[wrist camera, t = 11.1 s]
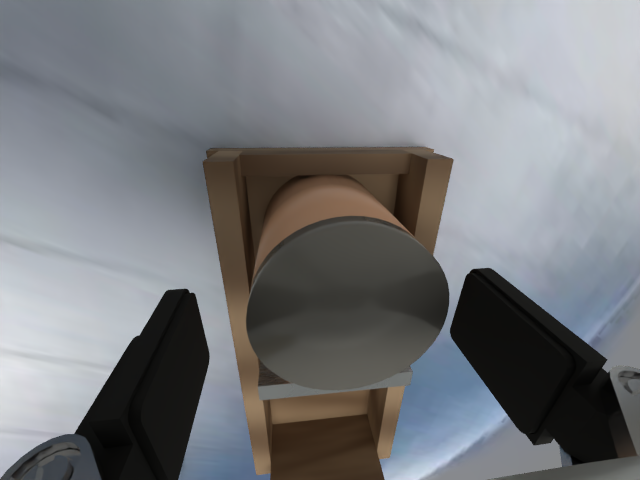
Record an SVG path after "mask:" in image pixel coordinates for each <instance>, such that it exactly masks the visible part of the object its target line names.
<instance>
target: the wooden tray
mask: <svg viewBox="0 0 640 480" xmlns="http://www.w3.org/2000/svg"><path fill="white" fill-rule="evenodd" d="M433 152H434V149H430V148H427V147H354V148H211V149H209V150H207V151H206V153H207V159H206V160H204V161H203V167H204V173H205V179H206V185H207V190H208V196H209V202H210V208H211V214H212V219H213V225H214V231H215V237H216V243H217V248H218V254H219V260H220V266H221V272H222V278H223V283H224V289H225V295H226V301H227V307H228V312H229V318H230V324H231V330H232V336H233V341H234V347H235V353H236V359H237V365H238V370H239V376H240V382H241V388H242V394H243V399H244V405H245V411H246V417H247V423H248V428H249V434H250V440H251V446H252V452H253V457H254V463H255V469H256V475H260V474H267V473H271V476H270V480H384V476H383V472H382V468H381V465H380V461H379V459H384V458H390V454H391V449H392V444H393V440H394V435H395V430H396V426H397V421H398V416H399V412H400V407H401V402H402V398H403V393H404V388H405V386H398V387H388V388H378V389H368V390H358V391H348V392H338V393H328V394H318V395H309V396H299V397H289V398H279V399H269V400H259V393H258V378H259V368H260V360H259V358H258V357H257V355H256V354H255V352H254V351H253V349H252V346H251V344H250V342H249V339H248V334H247V330H246V314H247V306H248V301H249V296H250V290H251V285H252V280H253V274H254V269H255V264H256V258H257V253H258V248H259V242H260V237H261V232H262V226H263V221H264V216H265V212H266V209H267V206H268V204H269V202H270V200H271V198H272V197H273V195H274V194H275V193H276V191H277V190H278V189H279V188H280V187H281V186H282V185H283V184H284V183H286V182H287V181H289V180H290V179H292V178H293V177H295V176H297V175H349V176H351V177H353V178H355V179H356V180H358V181H359V182H360V183H361V184H362V185H363V186H364V187H365V188H366V189H367V190H368V191H369V192H370V193H371V194H372V195H373V196H374V197H375V198H376V199H377V200H378V201H379V202H380V203H381V204H382V205H383V206H384V207H385V208H386V209H387V210H388V211H389V212H390V213H391V214H392V215H393V216H394V217H395V218H396V219H397V220H398V221H399V222H400V223H401V224H402V225H403V226H404V227H405V228H406V229H407V230H408V231H409V232H410V233H411V234H412V235H413V236H414V237H415V238H416V239H417V240H418V241H419V242H420V243H421V244H422V245H423V246H424V247H425V248H426V249H427V250H428V251H429V252H430V253H431V254H432V255H433V253H434V248H435V243H436V239H437V234H438V229H439V225H440V220H441V215H442V210H443V206H444V201H445V196H446V192H447V187H448V182H449V178H450V173H451V168H452V164H453V159H452V158H449V157H445V156H442V155H439V154H436V153H433Z"/></svg>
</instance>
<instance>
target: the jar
mask: <svg viewBox="0 0 640 480" xmlns="http://www.w3.org/2000/svg"><path fill="white" fill-rule="evenodd" d="M448 307H449V289H448V283H447V280H446V277H445V274H444V272H443V270H442V268H441V266H440V264H439V263H438V262H437V261H436V259H435V258H434V257H433V255H432V254H431V253H430V252H429V251H428V250H427V249H426V248H425V247H424V246H423V245H422V244H421V243H420V242H419V241H418V240H417V239H416V238H415V237H414V236H413V235H412V234H411V233H410V232H409V231H408V230H407V229H406V228H405V227H404V226H403V225H402V224H401V223H400V222H399V221H398V220H397V219H396V218H395V217H394V216H393V215H392V214H391V213H390V212H389V211H388V210H387V209H386V208H385V207H384V206H383V205H382V204H381V203H380V202H379V201H378V200H377V199H376V198H375V197H374V196H373V195H372V194H371V193H370V192H369V191H368V190H367V189H366V188H365V187H364V186H363V185H362V184H361V183H360V182H359V181H358V180H356V179H355V178H353V177H351V176H349V175H297V176H295V177H293V178H292V179H290V180H289V181H287V182H286V183H284V184H283V185H282V186H281V187H280V188H279V189H278V190H277V191H276V193H275V194H274V195H273V197H272V198H271V200H270V202H269V204H268V206H267V209H266V212H265V216H264V221H263V226H262V232H261V237H260V242H259V248H258V253H257V258H256V264H255V269H254V274H253V280H252V285H251V290H250V296H249V301H248V306H247V314H246V330H247V334H248V339H249V342H250V344H251V346H252V349H253V351H254V352H255V354H256V355H257V357H258V358H259V360H260V361H261V362H262V363H263V364H264V365H265V366H266V367H267V368H268V369H269V370H271V371H272V372H273V373H275V374H276V375H278V376H279V377H281V378H283V379H285V380H287V381H289V382H291V383H294V384H297V385H300V386H303V387H307V388H312V389H319V390H347V389H354V388H360V387H364V386H368V385H371V384H374V383H377V382H380V381H383V380H385V379H387V378H390V377H392V376H393V375H395V374H397V373H399V372H401V371H402V370H404V369H405V368H407V367H408V366H410V365H411V364H412V363H414V362H415V361H416V360H417V359H419V358H420V357H421V356H422V355H423V354H424V353H425V352H426V351H427V350H428V348H429V347H430V346H431V345H432V344H433V342H434V341H435V339H436V338H437V336H438V335H439V333H440V331H441V329H442V327H443V325H444V322H445V319H446V316H447V312H448Z"/></svg>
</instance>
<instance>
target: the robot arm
mask: <svg viewBox="0 0 640 480" xmlns="http://www.w3.org/2000/svg"><path fill="white" fill-rule="evenodd" d="M450 334H451V337H452V339H453V341H454V342H455V343H456V345H457V346H458V348H459V349H460V350H461V352H462V353H463V354H464V356H465V357H466V359H467V360H468V361H469V363H470V364H471V365H472V367H473V368H474V369H475V371H476V372H477V374H478V375H479V376H480V378H481V379H482V380H483V382H484V383H485V385H486V386H487V387H488V389H489V390H490V391H491V393H492V394H493V395H494V397H495V398H496V400H497V401H498V402H499V404H500V405H501V406H502V408H503V409H504V411H505V412H506V413H507V415H508V416H509V417H510V419H511V420H512V421H513V423H514V424H515V426H516V427H517V428H518V429H519V430H520V431H521V432H522V433H524V434H526V435H527V437H528V438H529V439H530V441H531V442H532V444H533V445H540V444H546V443H551V442H552V440H553V439H555V440H556V442H557V443H558V444H559V445H560V454H561V462H562V467H560V468H555V469H548V470H542V471H537V472H530V473H524V474H518V475H512V476H506V477H500V478H494V479H488V480H640V369H637V368H633V367H629V366H616V367H612V369H611V370H610V371H609V372H608V373H607V372H606V371H605V370H604V369H602V367H603V365H604V364H605V363H606V361H607V359H606V358H605V357H603V356H602V355H601V354H600V353H598V352H597V351H596V350H594V349H593V348H592V347H591V346H589V345H588V344H587V343H586V342H584V341H583V340H582V339H580V338H579V337H578V336H577V335H575V334H574V333H573V332H572V331H570V330H569V329H568V328H566V327H565V326H564V325H563V324H561V323H560V322H559V321H558V320H556V319H555V318H554V317H552V316H551V315H550V314H549V313H547V312H546V311H545V310H544V309H542V308H541V307H540V306H538V305H537V304H536V303H535V302H533V301H532V300H531V299H530V298H528V297H527V296H526V295H524V294H523V293H522V292H521V291H519V290H518V289H517V288H516V287H514V286H513V285H512V284H510V283H509V282H508V281H507V280H505V279H504V278H503V277H502V276H500V275H499V274H498V273H496V272H495V271H494V270H492V269H491V268H481V269H473V270H471V271H470V273H469V274H467V275H466V278H465V281H464V284H463V288H462V291H461V294H460V298H459V301H458V305H457V308H456V311H455V315H454V318H453V321H452V325H451V328H450ZM208 365H209V350H208V346H207V341H206V337H205V333H204V329H203V325H202V320H201V316H200V312H199V308H198V304H197V299H196V296H195V294H194V293H189V290H188V289H176V290H167V291H166V292H165V294H164V295H163V297H162V299H161V300H160V302H159V304H158V305H157V307H156V309H155V310H154V312H153V314H152V315H151V317H150V319H149V321H148V322H147V324H146V326H145V327H144V329H143V331H142V332H141V334H140V336H136V337H135V338H134V339H133V340H132V341H131V342H130V344H129V345H128V347H127V349H126V350H125V352H124V354H123V355H122V357H121V359H120V360H119V362H118V363H117V365H116V367H115V368H114V370H113V372H112V373H111V375H110V376H109V378H108V380H107V381H106V383H105V385H104V386H103V388H102V389H101V391H100V393H99V394H98V396H97V398H96V399H95V401H94V403H93V404H92V406H91V407H90V409H89V411H88V412H87V414H86V416H85V417H84V419H83V420H82V422H81V424H80V425H79V427H78V429H77V430H76V432H75V434H66V435H62V436H59V437H56V438H52V439H50V440H48V441H46V442H44V443H42V444H40V445H38V446H37V447H35V448H34V449H32V450H31V451H29V452H28V453H27V454H25V455H24V456H22V457H21V458H20V459H19V460H18V461H17V462H16V463H15V464H14V465H12V466H11V467H10V468H9V469H8V470H7V471H6V472H5V474H4V475H3V476H2V477H1V479H0V480H178V478H179V474H180V471H181V467H182V463H183V459H184V456H185V452H186V448H187V444H188V441H189V437H190V433H191V429H192V425H193V422H194V418H195V414H196V410H197V407H198V403H199V399H200V395H201V391H202V388H203V384H204V380H205V376H206V373H207V369H208Z"/></svg>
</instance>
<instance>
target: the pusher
mask: <svg viewBox="0 0 640 480" xmlns="http://www.w3.org/2000/svg"><path fill="white" fill-rule="evenodd" d="M412 373H413V371H412V369H411V367H410V366H408V367H407V368H405V369H404V370H402V371H401V372H399V373H397V374H395V375H393V376H392V377H390V378H387V379H385V380H383V381H380V382H377V383H374V384H371V385H368V386H364V387H360V388H354V389H347V390H319V389H312V388H307V387H303V386H300V385H297V384H294V383H291V382H289V381H287V380H285V379H283V378H281V377H279V376H278V375H276V374H275V373H273V372H272V371H271V370H269V369H268V368H267V367H266V366H265V365H264V364H263V363H262V362H261V361H260V368H259V378H258V393H259V400H269V399H279V398H289V397H299V396H309V395H318V394H328V393H338V392H348V391H358V390H368V389H378V388H388V387H398V386H408V385H410V382H411V378H412Z"/></svg>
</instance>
